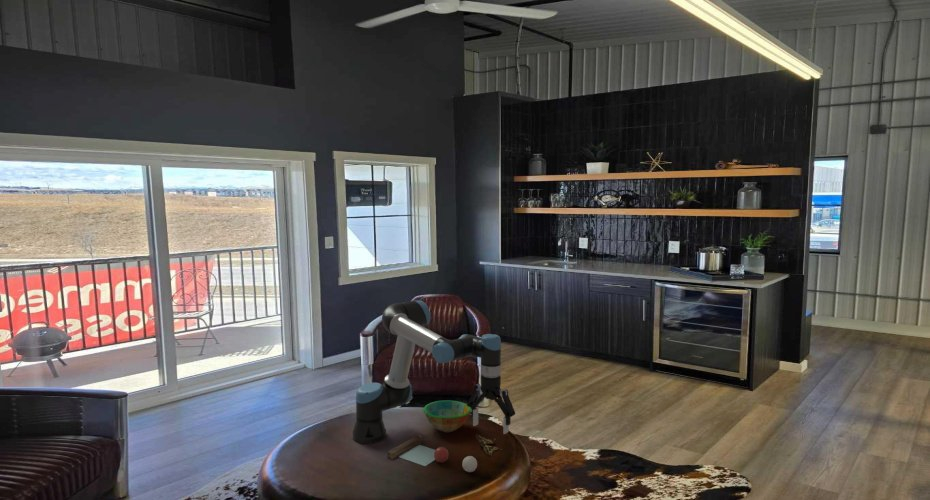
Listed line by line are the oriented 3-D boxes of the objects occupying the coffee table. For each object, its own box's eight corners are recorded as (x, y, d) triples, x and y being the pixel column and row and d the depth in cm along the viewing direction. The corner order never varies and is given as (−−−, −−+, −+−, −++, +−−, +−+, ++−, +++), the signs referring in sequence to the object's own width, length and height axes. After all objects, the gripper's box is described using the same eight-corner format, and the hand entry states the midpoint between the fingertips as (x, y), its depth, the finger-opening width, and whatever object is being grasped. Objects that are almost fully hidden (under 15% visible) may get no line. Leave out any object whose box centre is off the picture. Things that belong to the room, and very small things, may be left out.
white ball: (459, 472, 224) (459, 457, 223) (467, 466, 229) (467, 452, 228) (471, 476, 221) (472, 461, 220) (480, 470, 226) (480, 456, 225)
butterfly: (508, 455, 240) (487, 453, 236) (505, 462, 241) (485, 461, 237) (491, 431, 256) (472, 429, 252) (489, 438, 257) (470, 436, 253)
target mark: (398, 457, 236) (398, 456, 236) (419, 445, 248) (419, 444, 248) (425, 466, 228) (425, 465, 228) (445, 453, 240) (445, 453, 240)
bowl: (459, 417, 280) (459, 397, 279) (478, 434, 259) (479, 413, 258) (416, 423, 271) (416, 403, 270) (433, 442, 250) (433, 420, 249)
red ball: (431, 462, 232) (431, 448, 231) (439, 457, 237) (439, 443, 236) (442, 466, 228) (443, 452, 228) (451, 460, 233) (451, 447, 233)
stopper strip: (387, 457, 235) (387, 451, 235) (417, 440, 252) (417, 435, 252) (391, 459, 234) (391, 453, 234) (421, 442, 251) (421, 436, 250)
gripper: (458, 372, 220) (458, 424, 222) (515, 383, 206) (514, 439, 208) (468, 367, 226) (468, 418, 228) (524, 378, 213) (523, 432, 214)
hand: (490, 428), depth 218 cm, fingers open, 13 cm apart
